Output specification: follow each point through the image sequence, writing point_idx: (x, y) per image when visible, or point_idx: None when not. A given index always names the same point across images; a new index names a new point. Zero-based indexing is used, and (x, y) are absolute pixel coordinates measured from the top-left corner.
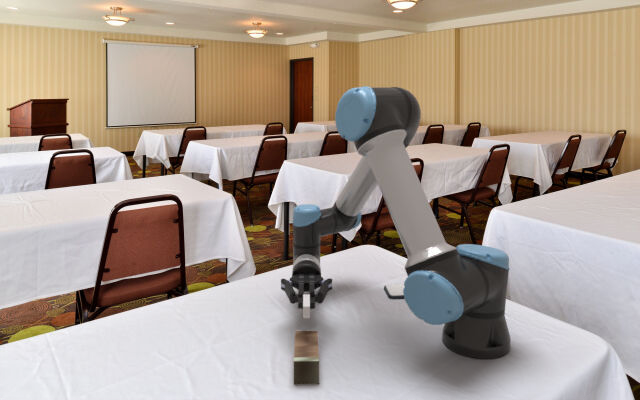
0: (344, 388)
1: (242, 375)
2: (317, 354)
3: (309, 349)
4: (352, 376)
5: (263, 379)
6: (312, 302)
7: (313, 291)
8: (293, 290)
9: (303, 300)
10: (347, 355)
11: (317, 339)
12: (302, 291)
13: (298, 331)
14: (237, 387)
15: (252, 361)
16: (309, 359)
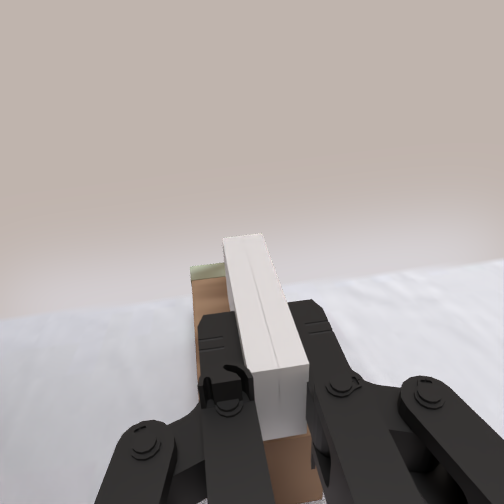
0: (129, 320)
1: (433, 327)
2: (196, 290)
3: (227, 309)
4: (92, 367)
5: (362, 321)
6: (215, 316)
7: (210, 369)
8: (460, 453)
9: (277, 284)
10: (71, 499)
11: (199, 372)
12: (346, 446)
13: (308, 428)
14: (410, 289)
15: (458, 395)
16: (220, 267)
